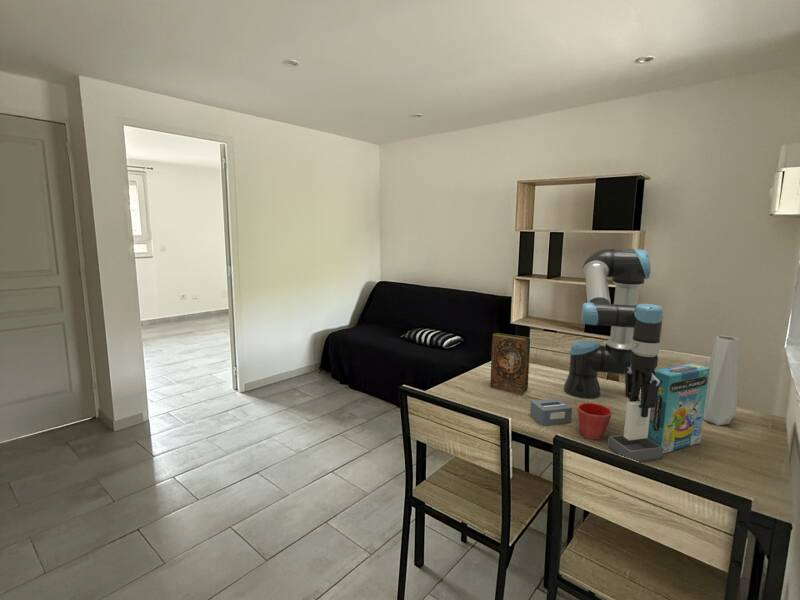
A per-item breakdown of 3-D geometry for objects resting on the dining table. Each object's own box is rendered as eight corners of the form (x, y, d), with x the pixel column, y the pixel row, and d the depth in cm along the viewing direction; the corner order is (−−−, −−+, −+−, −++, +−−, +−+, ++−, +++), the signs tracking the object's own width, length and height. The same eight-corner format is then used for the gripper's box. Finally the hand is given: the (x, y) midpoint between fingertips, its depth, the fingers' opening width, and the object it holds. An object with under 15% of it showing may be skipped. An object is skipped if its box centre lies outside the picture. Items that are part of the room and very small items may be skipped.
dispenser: (557, 412, 169) (558, 397, 168) (571, 422, 160) (572, 406, 159) (530, 415, 167) (531, 399, 165) (542, 426, 158) (543, 409, 157)
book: (488, 387, 195) (490, 335, 191) (492, 383, 200) (495, 332, 196) (524, 395, 187) (527, 340, 183) (527, 391, 191) (530, 337, 187)
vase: (699, 411, 171) (709, 332, 165) (735, 420, 163) (747, 337, 157) (692, 420, 162) (703, 337, 157) (730, 430, 154) (742, 343, 149)
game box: (661, 455, 138) (670, 376, 133) (643, 446, 143) (651, 370, 139) (701, 443, 146) (711, 367, 141) (682, 434, 151) (691, 362, 147)
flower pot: (607, 444, 144) (609, 418, 143) (573, 436, 150) (575, 410, 148) (610, 432, 153) (613, 407, 151) (578, 424, 159) (580, 400, 157)
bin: (638, 443, 145) (639, 432, 144) (661, 459, 135) (663, 447, 135) (607, 447, 142) (608, 436, 142) (629, 463, 133) (630, 451, 132)
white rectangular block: (641, 434, 140) (645, 400, 138) (647, 438, 137) (651, 403, 135) (623, 436, 138) (626, 402, 136) (628, 440, 136) (632, 405, 134)
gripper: (616, 347, 140) (610, 414, 144) (653, 361, 125) (645, 435, 129) (636, 346, 141) (629, 412, 145) (675, 360, 126) (666, 433, 130)
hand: (637, 423), depth 137 cm, fingers closed on white rectangular block, 2 cm apart
